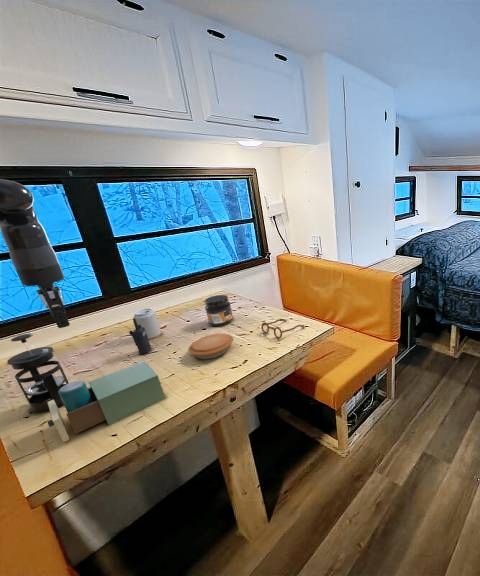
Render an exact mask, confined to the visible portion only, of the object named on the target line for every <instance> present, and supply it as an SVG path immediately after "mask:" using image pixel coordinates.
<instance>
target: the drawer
mask: <svg viewBox="0 0 480 576" xmlns="http://www.w3.org/2000/svg"><path fill="white" fill-rule="evenodd" d="M87 388H88V390H89V393H90V395H91V397H92V400H93V402H92V403H90V404H88V405H85V406H83V407H80V408H78V409H76V410H73V411H71V412H69V413H68V412H66V413H65V415H66V417H67V420H68V421H69V423H70V425H71V427H72V429H73V431H74V434H75V435H76V434H78V433H81V432H83V431H85V430H87V429H90V428H91V427H94V426H96V425H98V424H100V423H103V422H104V421H106V418H105V416H104V413H103V411H102V409H101V406H100V404H99V402H98V400H97V398H96V396H95V394H94V392H93V390H92V388H91V386H89V387H87ZM50 400H51V399H50ZM61 400H62V399H61ZM47 401H48V400H47ZM62 402H63V401H62ZM48 406H49V410H50V411H49V413H50V416H51V419H50V420H48V421H47V425H48V427H49V428H51V427H53V426H54V427H55V429H56V431H57V433H58V435H59V437H60V439H61V441H62V442H63V443H65V442H66V441H69V440H70V436H69V432H68V429H67V427H66V423H65V421H64V418H63V415H62V414H61V412H60V409H59V408H58V407H57V405H56V403H55V401H54V400H51V401H48Z"/></svg>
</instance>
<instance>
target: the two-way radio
mask: <svg viewBox="0 0 480 576" xmlns="http://www.w3.org/2000/svg"><path fill="white" fill-rule="evenodd" d="M132 321H133V325H134V328H135V329H133V330H129V331H128V333H129V335H130V336H131V337H132V340H133V342H134V345H135V346H136V348H137V350H138V353H139V355H147V354H148V353H150V352H151V349H152V346H151V343H150V339H148V336H147V334H146V331H145V328H144V327H142V326H141V325H140V324H139V325H138V324H137V322H136V319H135V318H133V317H132Z"/></svg>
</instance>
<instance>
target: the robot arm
mask: <svg viewBox="0 0 480 576" xmlns="http://www.w3.org/2000/svg"><path fill="white" fill-rule="evenodd" d="M34 201H35V199H34V195H33V193H32V192H31V191H30V189H29V188H28V187H27V186H25V185H23V184H21V183H19V182H17V181H13V180H9V179H3V178H0V232H1V236H2V238H3V241H4V243H5V245H6V248H7V249H8V253H9V257H10V260H11V262H12V265H13V267H14V269H15V271H16V274H17V276H18V278H19V281H20V283H21V285H22V286H24V287H38V289H36V293H37V296H38V297H39V299H40V300H41V302H42V303H43V305H44V308H46V309H48V311H49V313H50V316H51V317H52V319H53V320H54V322H55V324H56V326H57V328H58V329H63V328H67V327H69V326H70V325H71V323H70V321H69V319H68V316H67V314H66V312H67V309H66V308H65V306H64V305H65V301H64V298H63V296H62V291H61V289H60V287H59V286H58V285H56V286H54V284H55V283H58V282H61V281H63V280H64V279H65V274H64V272H63V269H62V266H61V264H60V262H59V259H58V256H57V254H56V251H55V250H54V249H53V246H52V245H51V242H50V240H49V237H48V236H47V233H46V230H45V228H44V227H43V225H42V223H41V222H40V221H39V219H38V216H37V213H36V211H35V208H34V206H33V204H34Z"/></svg>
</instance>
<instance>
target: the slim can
mask: <svg viewBox="0 0 480 576" xmlns="http://www.w3.org/2000/svg"><path fill="white" fill-rule="evenodd" d="M65 384H66V383H65ZM88 388H89V387H88V385H87V384H86V382H85V381H84V380H75V381H71V382H70V383H69V384H66V385H65V386H63V387H62V388H60V389H59V391H58V393H59V395H60V397H61V399H62V401H63V404H64V405H63V406H64V408H65V410H66V413H69V412H71V411H73V410H76V409H78V408H80V407H83V406H85V405H88V404H90V403H92V402H93V400H92V397H91V395H90V393H89V390H88Z"/></svg>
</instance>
